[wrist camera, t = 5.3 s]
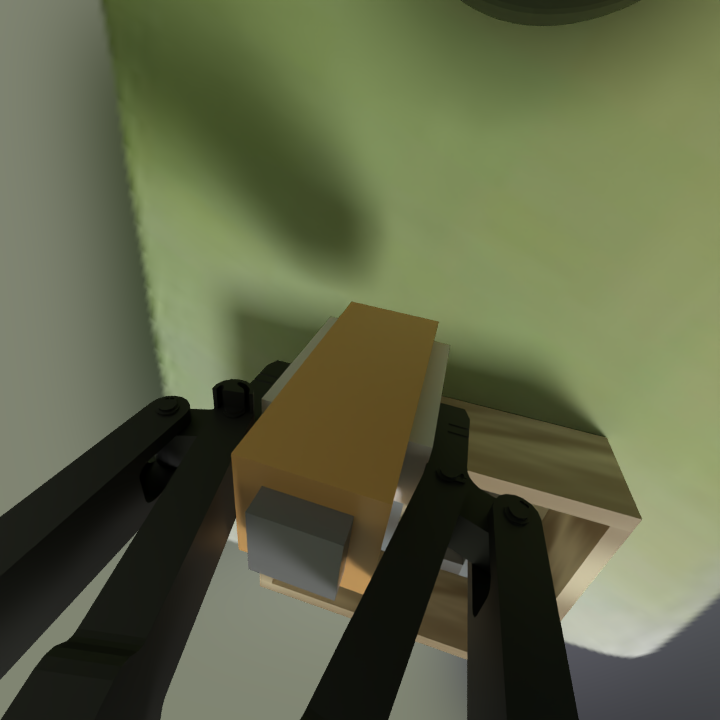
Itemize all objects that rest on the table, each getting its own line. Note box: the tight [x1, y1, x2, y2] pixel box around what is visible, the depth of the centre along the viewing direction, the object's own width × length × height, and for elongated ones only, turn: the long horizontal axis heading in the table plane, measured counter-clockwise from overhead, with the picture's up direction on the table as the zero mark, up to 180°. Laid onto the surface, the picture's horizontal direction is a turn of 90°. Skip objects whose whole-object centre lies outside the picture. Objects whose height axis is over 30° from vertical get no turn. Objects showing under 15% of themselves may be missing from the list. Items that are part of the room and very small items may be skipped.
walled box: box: [260, 396, 642, 659], centre depth 27 cm, size 18×20×6 cm
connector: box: [231, 302, 439, 601], centre depth 14 cm, size 4×4×11 cm
